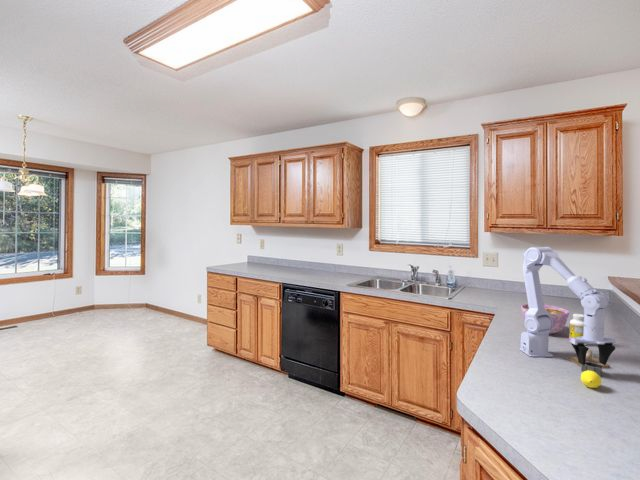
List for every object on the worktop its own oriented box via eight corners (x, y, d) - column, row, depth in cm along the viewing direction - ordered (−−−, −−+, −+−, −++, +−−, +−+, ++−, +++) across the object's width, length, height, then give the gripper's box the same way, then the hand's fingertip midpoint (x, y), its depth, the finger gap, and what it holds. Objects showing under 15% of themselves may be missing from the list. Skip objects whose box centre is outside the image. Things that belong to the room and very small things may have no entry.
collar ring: (589, 376, 120) (590, 367, 120) (577, 369, 125) (578, 361, 125) (605, 376, 120) (606, 367, 120) (592, 369, 125) (593, 361, 125)
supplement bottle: (569, 339, 157) (570, 312, 157) (587, 342, 153) (588, 314, 152) (568, 343, 152) (569, 315, 151) (587, 347, 148) (588, 318, 147)
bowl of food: (553, 326, 177) (554, 304, 177) (578, 339, 157) (579, 314, 157) (512, 325, 179) (513, 303, 179) (532, 337, 159) (533, 313, 159)
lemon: (580, 382, 116) (581, 366, 116) (601, 387, 113) (602, 371, 113) (579, 387, 111) (580, 370, 111) (600, 392, 107) (601, 375, 108)
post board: (582, 367, 127) (583, 354, 126) (567, 359, 135) (567, 346, 134) (609, 368, 127) (610, 354, 126) (592, 359, 135) (593, 346, 134)
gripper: (582, 330, 118) (580, 368, 118) (623, 330, 118) (622, 368, 118) (567, 324, 125) (566, 360, 125) (606, 324, 125) (605, 360, 125)
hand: (592, 363), depth 122 cm, fingers open, 7 cm apart
